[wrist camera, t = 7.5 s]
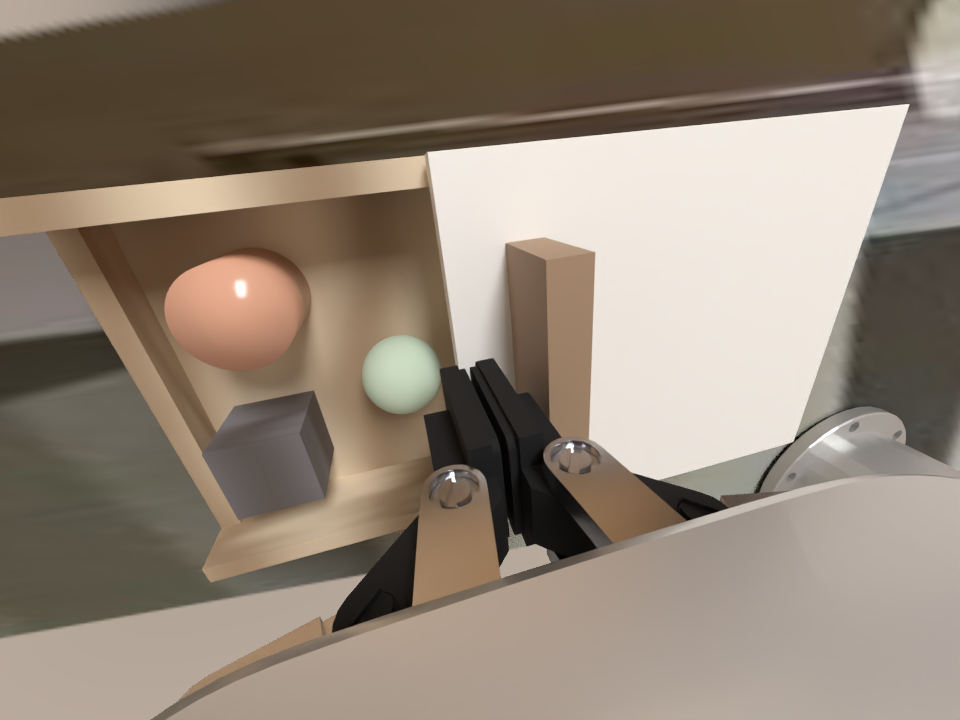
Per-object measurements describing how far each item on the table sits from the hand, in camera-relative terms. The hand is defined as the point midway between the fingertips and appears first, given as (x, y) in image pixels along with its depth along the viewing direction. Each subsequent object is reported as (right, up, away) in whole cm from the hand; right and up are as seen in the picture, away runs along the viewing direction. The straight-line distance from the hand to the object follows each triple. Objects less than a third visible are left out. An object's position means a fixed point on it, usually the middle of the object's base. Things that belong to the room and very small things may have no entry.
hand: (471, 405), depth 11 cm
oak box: (-4, +2, +5) cm, 7 cm away
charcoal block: (-8, -2, +5) cm, 10 cm away
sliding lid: (+7, +2, +3) cm, 8 cm away
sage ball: (-3, +2, +5) cm, 6 cm away
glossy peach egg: (-8, +4, +3) cm, 9 cm away
